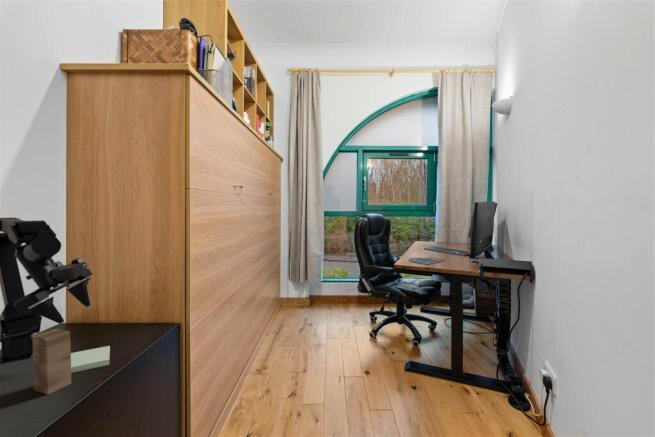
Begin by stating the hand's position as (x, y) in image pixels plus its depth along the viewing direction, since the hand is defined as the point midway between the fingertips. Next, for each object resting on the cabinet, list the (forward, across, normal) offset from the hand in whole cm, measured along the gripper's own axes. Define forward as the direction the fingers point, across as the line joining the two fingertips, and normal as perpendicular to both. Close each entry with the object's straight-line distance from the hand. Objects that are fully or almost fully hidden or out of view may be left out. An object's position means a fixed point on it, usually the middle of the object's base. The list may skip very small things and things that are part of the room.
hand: (76, 313), depth 86 cm
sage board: (+13, 0, +6) cm, 15 cm away
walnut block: (+12, -12, +5) cm, 18 cm away
